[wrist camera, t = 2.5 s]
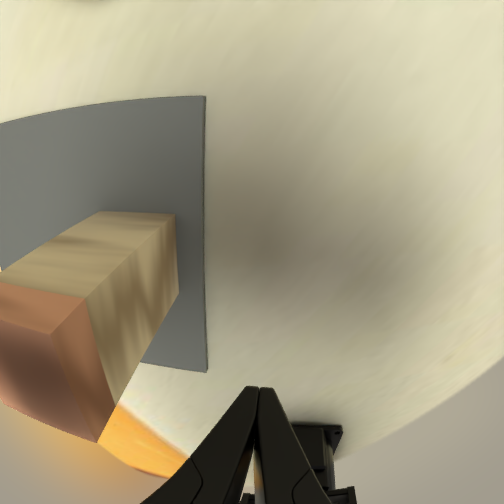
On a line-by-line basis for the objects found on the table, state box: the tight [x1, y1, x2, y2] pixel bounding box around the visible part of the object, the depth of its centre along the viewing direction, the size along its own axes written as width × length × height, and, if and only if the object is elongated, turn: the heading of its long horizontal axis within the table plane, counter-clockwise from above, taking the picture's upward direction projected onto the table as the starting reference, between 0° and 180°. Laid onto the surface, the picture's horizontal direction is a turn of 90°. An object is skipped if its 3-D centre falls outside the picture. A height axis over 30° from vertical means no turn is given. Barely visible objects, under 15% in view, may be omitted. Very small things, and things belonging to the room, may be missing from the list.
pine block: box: [0, 211, 179, 443], centre depth 14 cm, size 5×5×12 cm
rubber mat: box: [0, 96, 208, 373], centre depth 19 cm, size 18×18×1 cm
